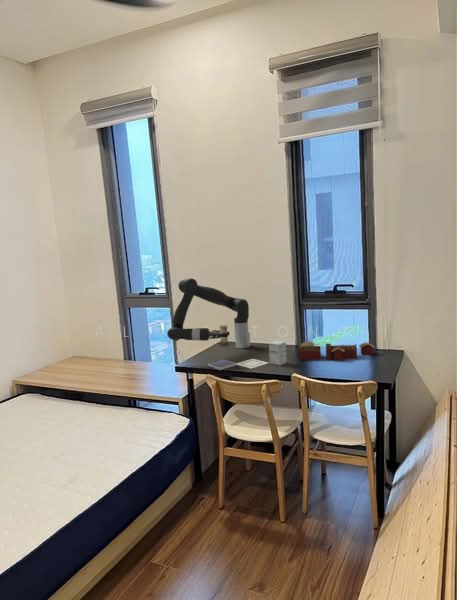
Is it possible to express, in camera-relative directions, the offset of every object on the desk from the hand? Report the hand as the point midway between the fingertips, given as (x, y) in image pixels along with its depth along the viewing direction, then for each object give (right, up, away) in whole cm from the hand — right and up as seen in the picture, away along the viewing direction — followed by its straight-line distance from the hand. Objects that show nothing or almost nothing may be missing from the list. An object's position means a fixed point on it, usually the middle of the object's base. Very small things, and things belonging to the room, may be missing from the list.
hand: (228, 334), depth 267 cm
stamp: (-2, -7, +2) cm, 7 cm away
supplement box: (+29, -17, -2) cm, 34 cm away
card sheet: (+14, -17, 0) cm, 22 cm away
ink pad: (-4, -19, 0) cm, 19 cm away
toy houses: (+65, -14, +5) cm, 67 cm away
